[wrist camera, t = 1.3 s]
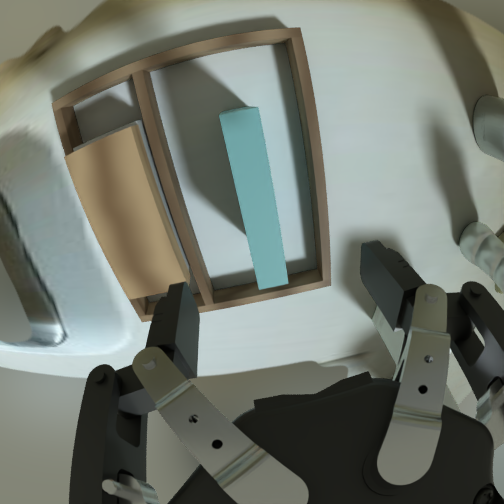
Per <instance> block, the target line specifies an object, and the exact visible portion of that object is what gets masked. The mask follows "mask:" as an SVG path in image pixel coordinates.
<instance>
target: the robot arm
mask: <svg viewBox="0 0 504 504" xmlns="http://www.w3.org/2000/svg"><path fill="white" fill-rule="evenodd" d="M473 125H474V133H475V138H476V141H477V144H478V146H479V148H480V149H481V150H482V151H483V152H484V153H485V154H488V155H490V156H492V157H495V158H497V159H499V160H501V161H503V162H504V99H503V98H498V97H494V96H489V95H485V96H483V97H481V98H480V99H479V100H478V102H477V104H476V107H475V110H474V119H473ZM360 275H361V279H362V282H363V284H364V285H365V287H366V288H367V290H368V291H369V293H370V295H371V296H372V298H373V299H374V301H375V302H376V304H377V306H378V307H379V309H380V310H381V312H382V314H383V315H384V317H385V319H386V320H387V322H388V323H389V325H390V327H391V328H392V330H393V332H396V331H399V330H402V329H403V331H404V333H405V334H404V337H403V341H402V345H401V350H400V354H399V358H398V362H397V366H396V370H395V373H394V376H393V379H392V380H390V379H384V378H371V376H370V373H369V371H367V372H364V373H361V374H358V375H355V376H352V377H349V378H346V379H343V380H340V381H339V382H337V383H335V384H333V385H331V386H330V387H328V388H326V389H324V390H322V391H320V392H318V393H316V394H305V395H278V396H273V397H268V398H262V399H257V400H254V406H255V408H252V409H250V410H248V411H247V412H245V413H243V414H241V415H240V416H238V417H237V418H236V419H235V420H234V421H233V422H230V421H229V420H228V419H227V418H226V417H225V416H224V415H223V414H222V413H221V412H220V411H219V410H218V409H217V408H216V407H215V406H214V405H213V404H212V403H211V402H210V401H209V400H208V399H207V398H206V397H205V396H204V395H203V394H202V393H201V392H200V391H199V390H198V389H197V388H196V386H195V385H194V384H193V383H192V382H191V381H188V379H190V378H197V362H198V340H199V323H200V316H199V311H198V307H197V305H196V302H195V300H194V298H193V295H192V293H191V290H190V288H189V286H188V283H187V282H186V281H185V282H180V283H175V284H170V285H169V288H168V293H167V296H166V297H161V299H160V300H159V301H158V303H157V304H156V305H155V309H154V313H153V317H152V321H151V322H152V323H151V325H150V330H149V334H148V338H147V343H146V347H145V349H143V350H141V351H140V352H139V353H138V354H137V355H136V356H135V358H134V360H133V363H132V365H129V366H127V367H124V368H122V369H119V370H116V371H115V370H114V369H113V368H112V367H111V366H110V365H107V364H103V365H99V366H97V367H96V368H94V369H93V370H92V371H91V372H90V374H89V376H88V378H87V382H86V387H85V390H84V395H83V400H82V404H81V409H80V414H79V419H78V425H77V430H76V437H75V443H74V450H73V458H72V467H71V477H70V492H69V504H160V503H159V501H158V496H157V493H156V491H155V489H154V488H153V487H152V486H151V485H150V484H148V483H146V443H147V442H146V441H147V418H148V412H151V411H154V410H158V411H159V413H160V414H161V416H162V417H163V418H164V420H165V421H166V423H167V424H168V425H169V426H170V428H171V429H172V430H173V432H174V433H175V434H176V435H177V437H178V438H179V439H180V441H181V442H182V443H183V444H184V445H185V447H186V448H187V449H188V450H189V451H190V453H191V454H192V455H193V456H194V457H195V458H196V459H197V461H198V462H199V463H200V465H199V466H198V467H197V468H196V470H195V471H194V472H193V474H192V475H191V476H190V477H189V479H188V480H187V481H186V482H185V483H184V485H183V486H182V487H181V488H180V490H179V491H178V492H177V493H176V494H175V495H174V497H173V498H172V499H171V500H170V501H169V502H168V504H504V499H503V498H502V497H501V496H500V494H499V493H498V491H497V490H496V488H495V486H494V482H493V456H494V450H495V449H496V448H498V447H499V446H500V445H502V444H503V443H504V310H503V309H502V308H501V306H500V305H499V304H498V303H497V301H496V300H495V299H494V298H493V296H492V295H491V294H490V293H489V292H488V291H487V289H486V288H485V287H484V286H483V285H481V284H479V283H477V282H473V281H470V282H466V283H465V284H463V286H462V289H461V292H457V293H445V291H444V290H443V289H442V288H440V287H439V286H437V285H434V284H426V283H425V282H424V281H423V279H422V278H421V277H420V276H419V275H418V274H417V273H416V271H415V270H414V269H413V268H412V267H411V266H409V264H408V263H407V262H406V261H405V259H404V258H403V257H402V256H401V255H400V254H399V253H398V252H396V251H394V250H392V249H390V248H388V249H386V248H385V247H384V246H383V245H382V243H381V242H380V241H378V240H375V241H371V242H366V243H363V244H362V246H361V265H360ZM475 327H476V328H477V329H478V331H479V332H480V334H481V335H482V337H483V338H484V341H485V347H484V346H483V344H482V342H481V341H480V339H479V338H478V336H477V335H476V333H475V332H474V329H475ZM450 349H451V351H452V352H453V354H454V356H455V358H456V359H457V361H458V363H459V365H460V367H461V369H462V370H463V372H464V374H465V376H466V378H467V380H468V382H469V384H470V386H471V388H472V390H473V392H474V394H475V396H476V398H477V400H478V403H477V407H476V408H477V409H476V411H477V414H476V417H475V418H476V419H474V418H471V417H469V416H467V415H465V414H463V413H461V412H459V411H456V410H454V409H452V408H450V407H448V406H446V405H444V404H443V401H444V395H445V389H446V382H447V374H448V365H449V355H450Z"/></svg>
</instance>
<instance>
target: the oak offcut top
mask: <svg viewBox="0 0 504 504" xmlns="http://www.w3.org/2000/svg"><path fill="white" fill-rule="evenodd" d="M64 158H65V161H66V164H67V167H68V169H69V172H70V175H71V178H72V181H73V183H74V186H75V189H76V191H77V194H78V196H79V199H80V201H81V204H82V206H83V209H84V211H85V213H86V216H87V218H88V220H89V223H90V225H91V227H92V229H93V232H94V234H95V236H96V238H97V240H98V242H99V244H100V246H101V248H102V251H103V253H104V255H105V257H106V259H107V261H108V262H109V264H110V266H111V268H112V270H113V272H114V274H115V276H116V278H117V280H118V281H119V283H120V285H121V287H122V289H123V290H124V292H125V294H126V296H127V297H128V299H129V300H130V299H135V298H140V297H145V296H150V295H155V294H160V293H165V292H168V288H169V285H170V284H175V283H180V282H185V281H186V282H187V283H188V286H189V283H190V277H191V276H190V273H189V271H188V268H187V266H186V263H185V261H184V258H183V256H182V253H181V250H180V248H179V245H178V243H177V240H176V237H175V235H174V232H173V229H172V227H171V224H170V221H169V218H168V216H167V213H166V210H165V207H164V204H163V201H162V199H161V196H160V193H159V190H158V187H157V184H156V181H155V178H154V175H153V172H152V169H151V166H150V162H149V159H148V156H147V153H146V149H145V146H144V143H143V140H142V136H141V133H140V129H139V126H138V125H134V126H131V127H128V128H126V129H123V130H121V131H118V132H116V133H114V134H111V135H109V136H107V137H104V138H102V139H100V140H98V141H96V142H93V143H91V144H89V145H87V146H85V147H83V148H81V149H79V150H77V151H75V152H73V153H71V154H69V155H67V156H65V157H64Z"/></svg>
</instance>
